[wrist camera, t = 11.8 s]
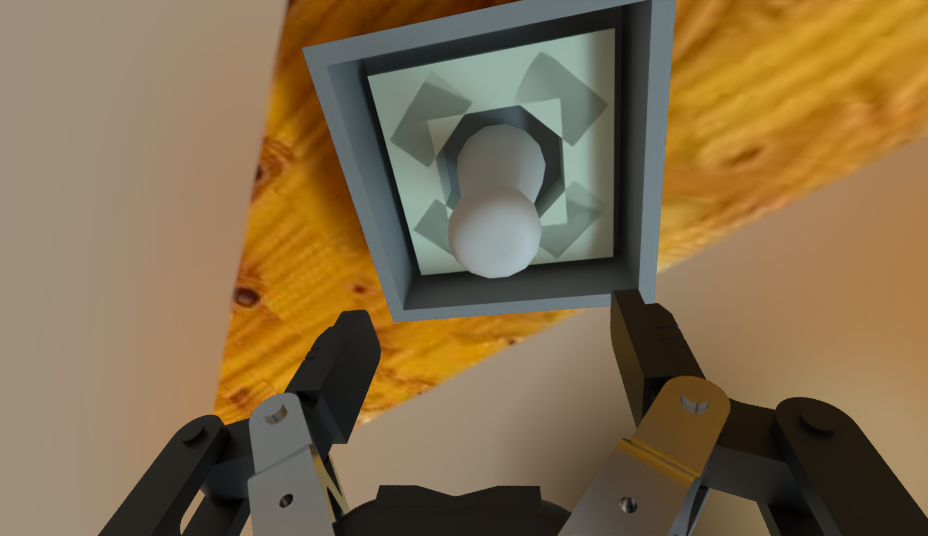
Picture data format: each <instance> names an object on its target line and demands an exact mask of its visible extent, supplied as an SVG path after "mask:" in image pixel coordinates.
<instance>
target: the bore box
mask: <svg viewBox="0 0 928 536" xmlns="http://www.w3.org/2000/svg"><path fill="white" fill-rule="evenodd" d="M675 4H676V0H522V1H517V2H513V3H508V4H503V5H499V6H494V7H489V8H485V9H480V10H476V11H471V12H466V13H462V14H457V15H452V16H448V17H443V18H439V19H434V20H429V21H425V22H420V23H415V24H411V25H406V26H402V27H397V28H392V29H388V30H383V31H378V32H374V33H369V34H365V35H360V36H355V37H351V38H346V39H342V40H337V41H332V42H328V43H323V44H318V45H314V46H309V47H305V48H302V51H303V54H304V57H305V60H306V63H307V66H308V69H309V72H310V75H311V78H312V81H313V84H314V87H315V90H316V93H317V96H318V99H319V102H320V104H321V107H322V110H323V113H324V116H325V119H326V122H327V125H328V128H329V131H330V134H331V137H332V140H333V143H334V146H335V149H336V152H337V155H338V158H339V161H340V164H341V167H342V170H343V173H344V176H345V179H346V182H347V185H348V188H349V191H350V194H351V197H352V200H353V203H354V206H355V209H356V212H357V215H358V218H359V221H360V224H361V227H362V230H363V233H364V236H365V239H366V242H367V245H368V248H369V251H370V253H371V256H372V259H373V262H374V265H375V268H376V271H377V274H378V277H379V280H380V283H381V286H382V289H383V292H384V295H385V298H386V301H387V304H388V307H389V310H390V313H391V316H392V319H393V322H406V321H419V320H432V319H445V318H459V317H472V316H485V315H498V314H512V313H525V312H538V311H551V310H565V309H578V308H591V307H603V306H611V291H612V290H619V289H632V288H638V290H639V291H640V294H641V296H642V298H643V300H644V303H654V301H655V287H656V273H657V259H658V244H659V230H660V216H661V202H662V188H663V174H664V160H665V146H666V132H667V117H668V103H669V89H670V75H671V61H672V47H673V33H674V19H675ZM500 124H508V125H511V126H514V127H517V128H520V129H523V130H525V131H526V132H527V133H528V134H529V135H530V136H531V137H532V138H533V139H534V140H535V141H536V142H537V143H538V144H539V146H540V149H541V152H542V155H543V158H544V161H545V164H546V165H545V171H544V177H543V183H542V186H541V188H540V190H539V193H538V195H537V197H536V200H535V202H534V205H535V208H536V211H537V214H538V216H539V219H540V222H541V226H542V232H541V237H540V242H539V247H538V251H537V254H536V255H535V256H534V258H533V259H532V260H531V262H530V263H529V264H528V266H527V267H526V268H525V269H523V270H521V271H519V272H517V273H515V274H513V275H511V276H509V277H499V278H487V277H483V276H480V275H477V274H474V273H471V272H470V271H468V270H467V269H466V268H465V267H463V266H462V265H461V264H460V263H458V262H457V261H456V259H455V257H454V255H453V253H452V250H451V248H450V246H449V242H448V230H449V218H450V216H451V214H452V212H453V210H454V209H455V207H456V205H457V204H458V202H459V201H460V199H461V193H460V188H459V184H458V179H457V157H458V155H459V153H460V151H461V150H462V148H463V146H464V144H465V143H466V141H467V139H469V138H470V137H471V136H473V135H474V134H476V133H477V132H478V131H480V130H481V129H483V128H484V127H486V126H493V125H500Z"/></svg>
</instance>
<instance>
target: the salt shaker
mask: <svg viewBox="0 0 928 536" xmlns="http://www.w3.org/2000/svg"><path fill="white" fill-rule="evenodd" d="M545 165H546V164H545V161H544V158H543V155H542V152H541V149H540V146H539V144H538V143H537V142H536V141H535V140H534V139H533V138H532V137H531V136H530V135H529V134H528V133H527V132H526V131H525V130H523V129H520V128H517V127H514V126H511V125H508V124H500V125H493V126H486V127H484V128H483V129H481V130H480V131H478V132H477V133H476V134H474V135H473V136H471V137H470V138H469V139H467V141H466V143H465V144H464V146H463V148H462V150H461V151H460V153H459V155H458V157H457V179H458V184H459V188H460V193H461V199H460V201H459V202H458V204H457V205H456V207H455V209H454V210H453V212H452V214H451V216H450V218H449V230H448V242H449V246H450V248H451V250H452V253H453V255H454V257H455V259H456V261H457V262H458V263H460V264H461V265H462V266H463V267H465V268H466V269H467V270H468V271H470V272H471V273H474V274H477V275H480V276H483V277H487V278H499V277H509V276H511V275H513V274H515V273H517V272H519V271H521V270H523V269H525V268H526V267H527V266H528V264H529V263H530V262H531V260H532V259H533V258H534V256H535V255H536V254H537V251H538V247H539V242H540V237H541V232H542V226H541V222H540V219H539V216H538V214H537V211H536V208H535V205H534V202H535V200H536V197H537V195H538V193H539V190H540V188H541V186H542V183H543V177H544V171H545Z"/></svg>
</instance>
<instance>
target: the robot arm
mask: <svg viewBox="0 0 928 536" xmlns="http://www.w3.org/2000/svg"><path fill="white" fill-rule="evenodd" d="M610 323H611V324H610V328H611V340H612V345H613V350H614V353H615V357H616V360H617V364H618V367H619V370H620V374H621V377H622V380H623V384H624V388H625V391H626V394H627V398H628V401H629V405H630V408H631V411H632V415H633V418H634V422H635V425H636V428H637V429H636V431H635V432H634V434H633V436H632V437H631V438H630V439H629V440H627V439H625V438H623V439H621V440H620V441H619V442H618V443H617V445H616V446H615V448H614V449H613V451H612V452H611V454H610V455H609V457H608V459H607V460H606V461H605V463H604V464H603V466H602V468H601V469H600V471H599V472H598V474H597V475H596V477H595V479H594V480H593V482H592V483H591V485H590V486H589V488H588V489H587V491H586V492H585V494H584V496H583V497H582V499H581V500H580V502H579V503H578V505H577V506H576V508H575V509H574V511H573V512H572V513H571V512H569V511H568V510H566V509H564V508H562V507H561V506H558V505H556V504H554V503H551V502H548V501H545V500H542V499H541V492H540V486H496V487H492V488H488V489H484V490H480V491H476V492H472V493H468V494H464V495H461V496H451V495H447V494H444V493H441V492H437V491H434V490H430V489H427V488H424V487H420V486H416V485H413V486H412V485H406V486H405V485H401V486H400V485H380V486H379V490H378V493H377V497H376V499H375V500H372V501H369V502H366V503H364V504H362V505H360V506H358V507H356V508H354V509H353V510H351V511H350V509H349V506H348V504H347V501H346V498H345V495H344V492H343V490H342V486H341V483H340V480H339V478H338V475H337V472H336V469H335V466H334V463H333V460H332V458H331V456H330V454H329V451H330V448H331V446H332V444H347V442H348V440H349V437H350V435H351V432H352V430H353V427H354V425H355V422H356V420H357V417H358V415H359V412H360V409H361V407H362V404H363V402H364V399H365V397H366V394H367V392H368V389H369V387H370V384H371V382H372V379H373V376H374V374H375V371H376V369H377V366H378V364H379V361H380V356H381V348H380V343H379V340H378V338H377V335H376V332H375V330H374V327H373V324H372V322H371V319H370V316H369V314H368V312H367V311H366V310H352V311H343V312H342V313H341V314H340V316H339V318H338V319H337V321H336V323H335V324H334V326H333V327H329V328H328V329H326V330H325V331H324V332H323V333H322V334H321V335H320V336H319V337H318V338H317V339H316V341H315V342H314V344H313V346H312V347H311V351H309V352H308V354H307V355H306V357H305V360H303V362H302V364H301V365H300V367H299V368H298V370H297V372H296V373H295V375H294V377H293V378H292V380H291V381H290V383H289V385H288V386H287V388H286V390H285V391H284V393H281V394H277V395H275V396H272V397H270V398H269V399H267V400H265V401H264V402H263V403H261V404H260V405H259V406H258V407H257V408H256V409H255V410H254V412H253V413H252V415H251V417H250V418H248V419H245V420H241V421H238V422H235V423H231V424H228V425H224V423H223V422H222V420H221V419H220V418H219V417H218V416H216V415H205V416H202V417H199V418H196V419H195V420H192V421H191V422H189V423H187V424H186V425H185V426H183V427H182V428H181V429H180V430H179V431H178V432H177V433H176V434H175V435H174V436H173V437H172V438H171V440H170V441H169V442H168V444H167V445H166V446H165V448H164V449H163V450H162V452H161V453H160V454H159V456H158V457H157V458H156V459H155V461H154V462H153V464H152V465H151V466H150V468H149V469H148V470H147V471H146V473H145V474H144V475H143V477H142V478H141V479H140V481H139V482H138V483H137V485H136V486H135V487H134V489H133V490H132V491H131V493H130V494H129V495H128V496H127V498H126V499H125V500H124V502H123V503H122V504H121V506H120V507H119V508H118V510H117V511H116V513H115V514H114V515H113V517H112V518H111V519H110V520H109V522H108V523H107V524H106V526H105V527H104V528H103V530H102V531H101V532H100V534H99V535H98V536H239V535H240V533H241V531H242V529H243V527H244V525H245V523H246V521H247V519H248V517H249V515H250V513H251V520H252V529H253V536H691V534H692V532H693V529H694V527H695V525H696V522H697V520H698V518H699V515H700V513H701V511H702V508H703V506H704V504H705V501H706V499H707V497H708V494H709V492H710V490H711V488H712V489H715V490H719V491H722V492H726V493H729V494H732V495H736V496H739V497H743V498H746V499H749V500H753V501H756V502H757V505H758V507H759V509H760V512H761V514H762V516H763V519H764V521H765V523H766V526H767V528H768V530H769V533H770V535H771V536H928V518H927V517H926V515H925V514H924V513H923V511H922V510H921V509H920V507H919V506H918V505H917V503H916V502H915V501H914V499H913V498H912V497H911V496H910V494H909V493H908V492H907V490H906V489H905V488H904V486H903V485H902V484H901V482H900V481H899V480H898V478H897V477H896V476H895V474H894V473H893V472H892V470H891V469H890V468H889V466H888V465H887V464H886V462H885V461H884V460H883V458H882V457H881V456H880V454H879V453H878V452H877V450H876V449H875V448H874V446H873V445H872V444H871V443H870V441H869V440H868V439H867V437H866V436H865V434H864V433H863V432H862V430H861V429H860V428H859V426H858V425H857V424H856V423H855V422H854V420H852V419H851V418H850V417H849V416H848V415H847V414H845V413H844V412H843V411H841V410H840V409H838V408H836V407H834V406H832V405H830V404H828V403H825V402H823V401H819V400H816V399H812V398H806V397H793V398H789V399H786V400H783V401H782V402H780V403H779V404H778V405H777V408H776V410H774V409H769V408H764V407H759V406H754V405H749V404H745V403H741V402H738V401H735V400H733V399H730V398H728V397H727V395H726V394H725V392H724V391H723V390H722V389H721V388H719V387H718V386H717V385H715V384H713V383H712V382H710V381H708V380H706V378H705V376H704V375H703V373H702V371H701V369H700V367H699V365H698V363H697V362H696V359H695V357H694V356H693V354H692V352H691V350H690V348H689V346H688V344H687V342H686V340H685V339H684V337H683V335H682V333H681V331H680V329H678V325H677V323H676V321H675V319H674V317H673V315H672V314H671V313H670V312H669V311H667V310H666V309H665V308H664V307H662V306H661V305H660V304H659V303H654V304H645V303H644V300H643V298H642V296H641V294H640V291H639V290H638V288H632V289H619V290H612V291H611V322H610ZM199 489H200V490H201V491H202V492H203V493H204V494H205V497H204V498H203V500H202V502H201V503H200V505H199V507H198V508H197V510H196V512H195V514H194V515H193V517H192V518H191V520H190V522H189V524H188V525H187V527H186V529H185V530H184V532H183V534H182V535H181V534H180V523H181V520H182V517H183V515H184V513H185V512H186V510H187V509H188V507H189V505H190V504H191V502H192V500H193V499H194V497H195V496H196V494H197V492H198V491H199Z"/></svg>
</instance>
